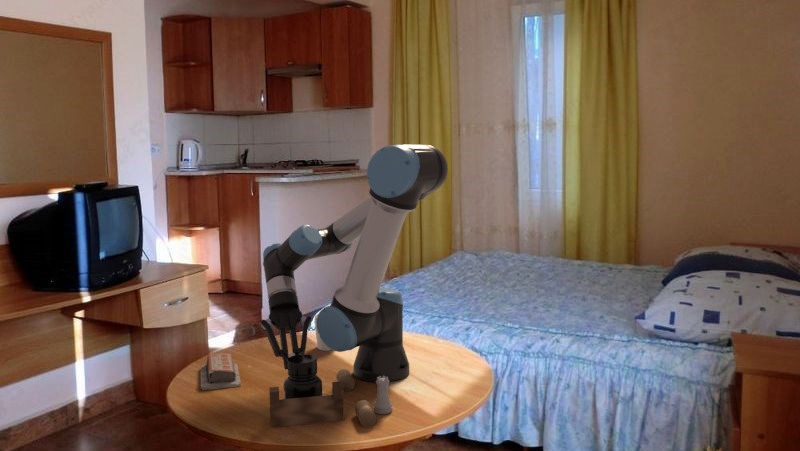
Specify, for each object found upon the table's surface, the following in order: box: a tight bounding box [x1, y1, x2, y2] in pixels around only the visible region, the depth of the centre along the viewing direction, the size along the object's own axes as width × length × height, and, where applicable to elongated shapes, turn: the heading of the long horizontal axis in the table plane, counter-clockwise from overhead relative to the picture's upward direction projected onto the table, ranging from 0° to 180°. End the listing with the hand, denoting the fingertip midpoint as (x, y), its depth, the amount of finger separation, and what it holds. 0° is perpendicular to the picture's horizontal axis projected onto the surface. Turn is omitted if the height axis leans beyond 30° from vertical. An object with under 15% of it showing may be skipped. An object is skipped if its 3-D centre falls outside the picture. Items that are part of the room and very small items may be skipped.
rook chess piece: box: [372, 376, 393, 415], centre depth 156 cm, size 4×4×8 cm
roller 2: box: [354, 399, 377, 428], centre depth 151 cm, size 7×4×4 cm, turn 13°
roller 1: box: [336, 368, 355, 393], centre depth 173 cm, size 7×4×4 cm
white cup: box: [314, 313, 333, 352], centre depth 206 cm, size 8×8×10 cm
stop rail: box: [268, 380, 345, 428], centre depth 151 cm, size 16×3×8 cm, turn 103°
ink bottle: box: [283, 353, 323, 399], centre depth 158 cm, size 10×9×12 cm
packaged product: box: [199, 352, 242, 391], centre depth 181 cm, size 18×5×10 cm
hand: (294, 380), depth 163 cm, fingers closed
